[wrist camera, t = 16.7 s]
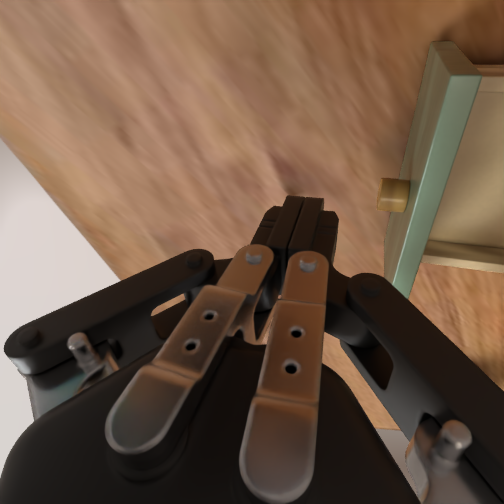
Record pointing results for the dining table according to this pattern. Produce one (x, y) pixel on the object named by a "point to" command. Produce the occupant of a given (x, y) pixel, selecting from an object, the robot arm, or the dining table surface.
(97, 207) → the dining table surface
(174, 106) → the dining table surface
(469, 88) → the drawer
